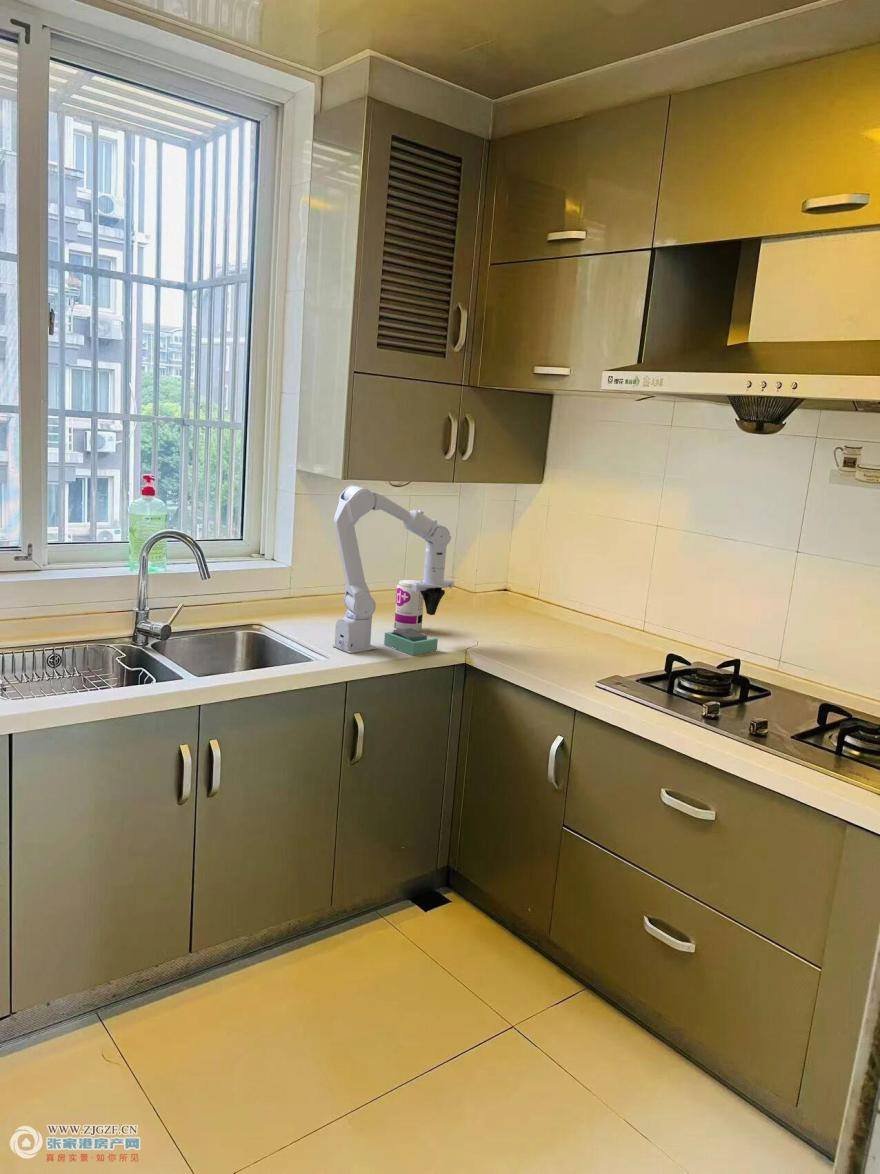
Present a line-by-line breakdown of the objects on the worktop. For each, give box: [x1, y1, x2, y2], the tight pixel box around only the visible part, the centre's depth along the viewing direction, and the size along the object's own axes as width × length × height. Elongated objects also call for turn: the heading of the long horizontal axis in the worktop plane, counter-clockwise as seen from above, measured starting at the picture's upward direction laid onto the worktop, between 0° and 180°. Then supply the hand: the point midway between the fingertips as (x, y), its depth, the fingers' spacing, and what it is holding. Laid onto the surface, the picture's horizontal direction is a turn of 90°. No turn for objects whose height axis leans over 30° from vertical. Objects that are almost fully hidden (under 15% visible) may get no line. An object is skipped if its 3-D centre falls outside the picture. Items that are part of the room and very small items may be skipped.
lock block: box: [393, 628, 428, 642], centre depth 245 cm, size 6×8×4 cm
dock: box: [383, 631, 439, 656], centre depth 245 cm, size 9×12×4 cm
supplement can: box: [393, 578, 425, 632], centre depth 262 cm, size 8×8×15 cm
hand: (430, 614), depth 248 cm, fingers closed
